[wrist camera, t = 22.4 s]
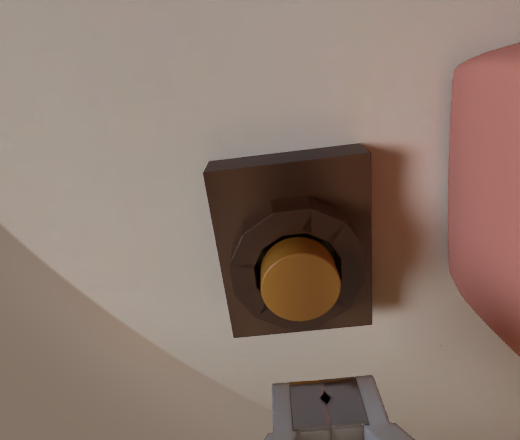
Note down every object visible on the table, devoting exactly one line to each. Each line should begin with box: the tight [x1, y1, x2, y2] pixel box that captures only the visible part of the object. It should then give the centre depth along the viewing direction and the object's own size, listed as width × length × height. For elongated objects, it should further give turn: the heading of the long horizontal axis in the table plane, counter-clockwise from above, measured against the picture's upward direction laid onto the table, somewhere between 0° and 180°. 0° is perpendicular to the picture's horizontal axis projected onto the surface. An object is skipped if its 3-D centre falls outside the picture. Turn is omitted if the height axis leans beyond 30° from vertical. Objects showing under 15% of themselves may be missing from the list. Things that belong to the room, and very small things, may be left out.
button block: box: [203, 144, 372, 338], centre depth 20 cm, size 8×10×4 cm
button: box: [261, 237, 341, 321], centre depth 18 cm, size 4×4×2 cm
